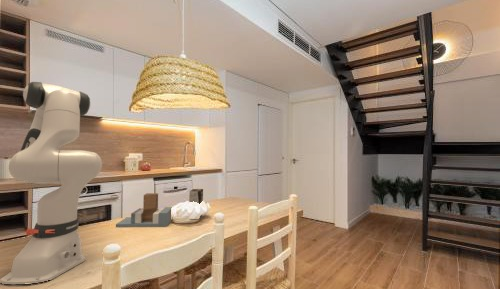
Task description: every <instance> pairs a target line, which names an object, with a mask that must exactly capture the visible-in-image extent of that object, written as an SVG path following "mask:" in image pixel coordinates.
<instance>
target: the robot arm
mask: <svg viewBox="0 0 500 289" xmlns="http://www.w3.org/2000/svg"><path fill="white" fill-rule="evenodd" d="M22 96H23V100H24V103H25V104H26V105H27V106H28V107H30V108H32V109H35V113H34V117H33V120H32V123H31V125H30V127H29V130H28V131H27V134H26V136H25V138H24V140H23V143H22V145H21V146H22V147H21V148H20V151H18V152H16V153H15V154H13V156H12V157H11V159H10V161H9V163H8V171H9V172H8V173H10V176H11V177H12V178H13V179H14V180H16V181H17V182H28V183H31V184H40V185H41V184H42V185H43V184H44V185H48V184H52V185H53V184H54V185H55V184H56V185H61V186H60V187H59V188H57V189H55V190H52V191H50V192H48V193H46V194H44V195H43V196H41V197H40V198H39V200H38V202H37V210H36V212H37V213H36V215H37V217H36V218H37V221H36V223H35V225H34V227H33V228H27V229H26V230H25V235H26V236H29V235H31V238H30V240H28V242H27V243H26V244H25V245H24V247H22V248H21V250H20V251H19V252H18V253H17V255H16V256H15V257H14V258H13V260H12V267H11V271H10V272H8V273H7V274H5V275H4V276H3V277H2V278H0V284H1V283H2V284H1V285H4V284H25V283H38V282H43V281H47V282H49V281H48V280H50V281H51V280H53V279H55V278H56V277H58V276H60V275H62V274H64V273H65V272H67V271H69V270H71V269H73V268H75V267H76V266H78V265H80V264H81V263H83V262H85V261H86V256H84V255H83V247H82V237H81V236H80V233H79V232H78V229H79V224H80V222H79V218H78V206H79V198H80V195H81V193H82V191H83V189H84V188H85V186H86V185H87V184H88V183H89V182H91V181H92V180H93V179H95V178H96V177H97V176H99V174H100V173H101V170H102V168H103V162H102V161H103V160H102V158H101V156H99V154H98V153H97V152H93V151H89V150H83V149H79V150H78V149H77V150H76V149H65V150H64V149H61V148H62V147H64V146H65V145H68V144H70V143H73V142H74V141H76V140H77V139H78V138H79V136H80V129H81V126H80V125H81V116H85V115H87V113H89V111H90V108H91V98H90V97H89V95H88V94H87V93H85V92H82V91H78V90H74V89H71V88H67V87H64V86H61V85H57V84H50V83H44V82H43V83H42V82H41V81H31V82H28V83H27V85H26V86H25V87H24V90H23V92H22ZM43 283H44V282H43ZM38 284H39V283H38Z"/></svg>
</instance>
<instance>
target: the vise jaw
mask: <svg viewBox="0 0 500 289" xmlns="http://www.w3.org/2000/svg"><path fill="white" fill-rule="evenodd" d="M130 217H131V223H142V222H143V208H142V207H141V208H138V209H136V210H134V211H133V212H132V213H130Z"/></svg>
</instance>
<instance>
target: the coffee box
mask: <svg viewBox="0 0 500 289" xmlns="http://www.w3.org/2000/svg"><path fill="white" fill-rule="evenodd" d="M188 196H189V197H188V199H189V200H188V203H189V202H193V201H194V202H197V203H199V204H200V203H201V202H202V201H203V202H204V189H203V188H193V189H191V190H189V195H188Z"/></svg>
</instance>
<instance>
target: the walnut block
mask: <svg viewBox="0 0 500 289" xmlns="http://www.w3.org/2000/svg"><path fill="white" fill-rule="evenodd" d="M142 202H143V206H142V207H143V222H153V213H155V212H156V211H157V210H158V209H159V193H158V192H157V193H156V192H155V193H153V192H152V193H145V194H143V201H142Z"/></svg>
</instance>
